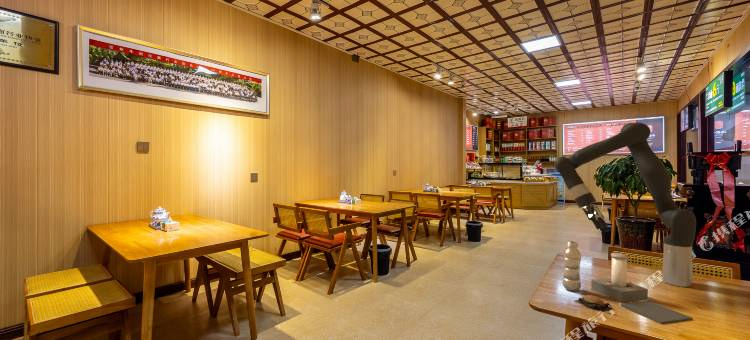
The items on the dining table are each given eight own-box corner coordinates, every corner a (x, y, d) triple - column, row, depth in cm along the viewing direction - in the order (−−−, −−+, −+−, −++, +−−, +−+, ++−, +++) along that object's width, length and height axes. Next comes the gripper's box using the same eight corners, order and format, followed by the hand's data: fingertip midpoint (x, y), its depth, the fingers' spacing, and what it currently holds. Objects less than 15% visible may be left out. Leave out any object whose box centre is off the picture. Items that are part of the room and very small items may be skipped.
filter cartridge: (617, 290, 137) (618, 252, 136) (630, 296, 131) (631, 256, 131) (606, 292, 136) (607, 253, 135) (619, 297, 130) (620, 257, 130)
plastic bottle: (583, 293, 134) (584, 244, 133) (565, 292, 135) (566, 243, 135) (577, 287, 140) (578, 240, 140) (560, 286, 142) (561, 240, 141)
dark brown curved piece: (572, 303, 126) (572, 293, 126) (586, 299, 130) (586, 290, 130) (601, 314, 116) (601, 304, 116) (615, 310, 120) (615, 300, 120)
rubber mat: (649, 302, 126) (649, 300, 126) (692, 319, 112) (692, 317, 112) (620, 305, 122) (620, 304, 122) (660, 323, 109) (660, 322, 109)
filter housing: (616, 286, 141) (616, 275, 141) (647, 299, 129) (648, 286, 129) (591, 289, 138) (591, 278, 138) (621, 302, 126) (621, 289, 126)
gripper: (585, 191, 145) (607, 225, 138) (595, 192, 154) (616, 224, 148) (568, 199, 150) (589, 232, 143) (579, 199, 159) (599, 230, 152)
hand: (603, 228), depth 145 cm, fingers open, 8 cm apart
